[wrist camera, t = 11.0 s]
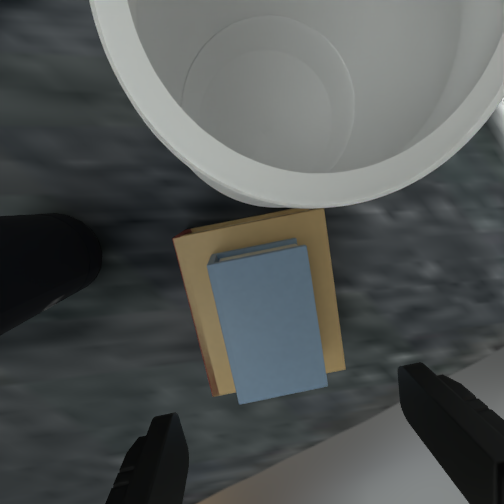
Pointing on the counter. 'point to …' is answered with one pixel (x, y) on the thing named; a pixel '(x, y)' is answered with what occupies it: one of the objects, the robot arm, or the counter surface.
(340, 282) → the counter surface
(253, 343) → the pocket book
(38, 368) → the counter surface
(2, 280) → the wine bottle
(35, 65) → the counter surface
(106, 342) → the counter surface
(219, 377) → the big book
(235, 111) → the jar
